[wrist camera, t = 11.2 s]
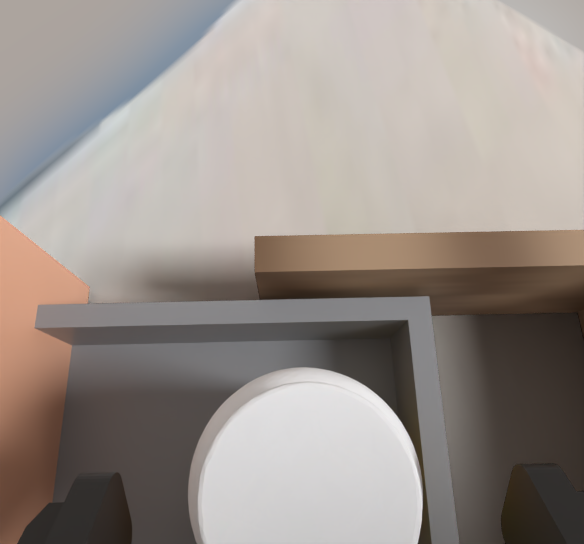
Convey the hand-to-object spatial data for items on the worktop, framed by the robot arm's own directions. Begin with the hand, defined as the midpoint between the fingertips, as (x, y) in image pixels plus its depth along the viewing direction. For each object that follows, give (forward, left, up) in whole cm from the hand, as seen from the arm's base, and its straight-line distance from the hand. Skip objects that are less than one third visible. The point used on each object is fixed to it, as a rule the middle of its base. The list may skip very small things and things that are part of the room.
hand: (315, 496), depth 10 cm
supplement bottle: (0, 0, -8) cm, 8 cm away
